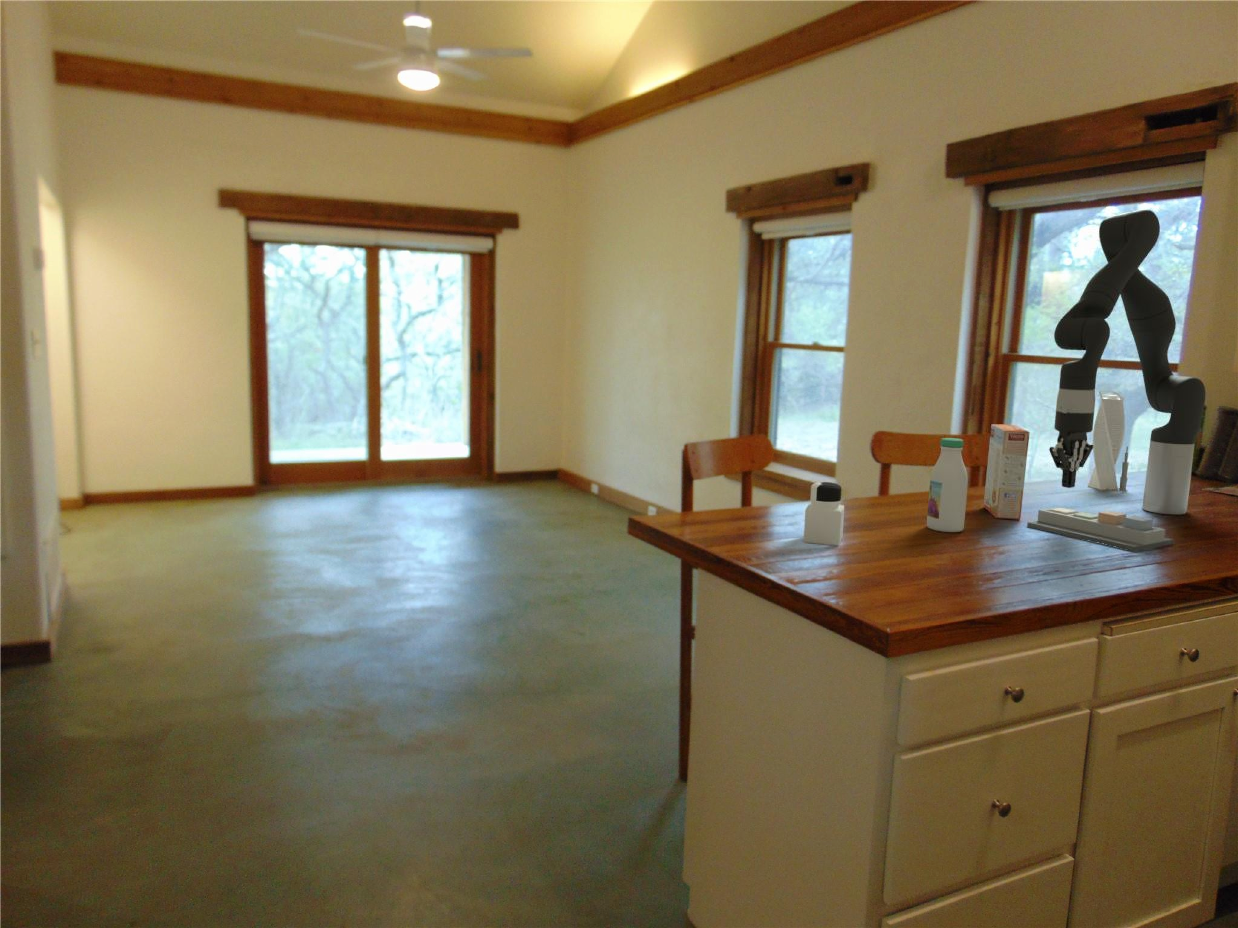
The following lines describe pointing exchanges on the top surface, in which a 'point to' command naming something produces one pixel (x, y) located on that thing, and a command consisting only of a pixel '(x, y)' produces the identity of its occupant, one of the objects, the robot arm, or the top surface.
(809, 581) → the top surface
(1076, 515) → the key sage
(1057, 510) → the key ivory
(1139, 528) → the key slate
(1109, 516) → the block
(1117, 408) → the skyscraper
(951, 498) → the milk bottle
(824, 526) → the medicine bottle
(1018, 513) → the cracker box
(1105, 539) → the keypad
